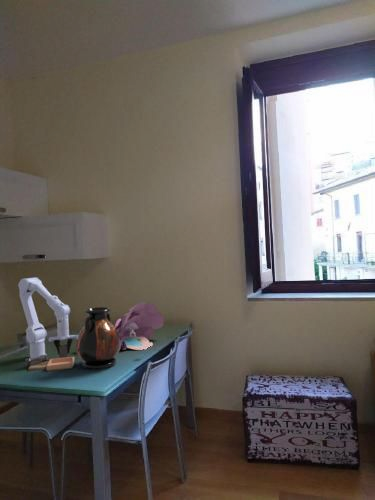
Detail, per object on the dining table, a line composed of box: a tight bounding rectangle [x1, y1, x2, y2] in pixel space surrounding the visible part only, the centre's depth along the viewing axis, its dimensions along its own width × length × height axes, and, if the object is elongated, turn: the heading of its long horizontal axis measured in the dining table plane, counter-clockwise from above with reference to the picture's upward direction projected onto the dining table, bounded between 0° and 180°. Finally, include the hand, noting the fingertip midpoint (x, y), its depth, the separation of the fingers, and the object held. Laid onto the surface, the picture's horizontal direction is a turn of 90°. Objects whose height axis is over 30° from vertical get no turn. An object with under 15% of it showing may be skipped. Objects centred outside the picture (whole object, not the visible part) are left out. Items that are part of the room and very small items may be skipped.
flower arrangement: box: [114, 301, 165, 351], centre depth 206 cm, size 35×24×28 cm
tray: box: [45, 356, 75, 372], centre depth 174 cm, size 12×12×2 cm
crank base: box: [27, 359, 50, 372], centre depth 175 cm, size 12×8×1 cm, turn 12°
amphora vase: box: [76, 306, 121, 371], centre depth 173 cm, size 22×22×28 cm
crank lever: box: [24, 355, 48, 367], centre depth 177 cm, size 12×4×4 cm, turn 152°
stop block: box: [58, 344, 69, 358], centre depth 185 cm, size 4×4×6 cm
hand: (63, 353), depth 184 cm, fingers closed on stop block, 4 cm apart
